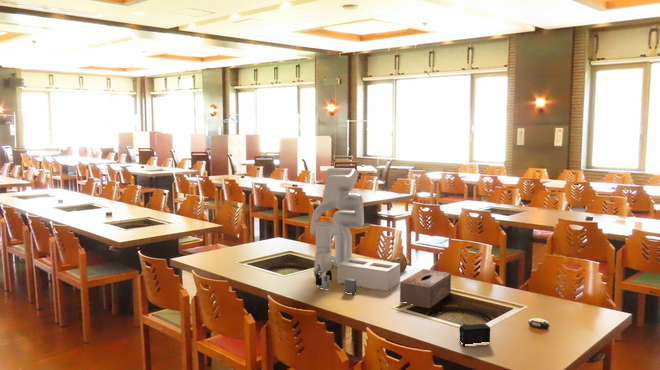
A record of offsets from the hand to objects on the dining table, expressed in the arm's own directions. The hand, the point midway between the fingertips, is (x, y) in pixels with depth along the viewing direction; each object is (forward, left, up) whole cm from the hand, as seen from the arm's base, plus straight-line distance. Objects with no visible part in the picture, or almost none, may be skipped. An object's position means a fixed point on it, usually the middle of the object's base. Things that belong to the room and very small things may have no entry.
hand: (323, 282), depth 277 cm
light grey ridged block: (0, 0, -3) cm, 3 cm away
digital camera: (+83, -29, -4) cm, 88 cm away
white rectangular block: (+15, +20, -3) cm, 25 cm away
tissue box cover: (+49, +12, -4) cm, 51 cm away
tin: (+21, +44, -4) cm, 49 cm away
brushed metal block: (+15, 0, -3) cm, 15 cm away
